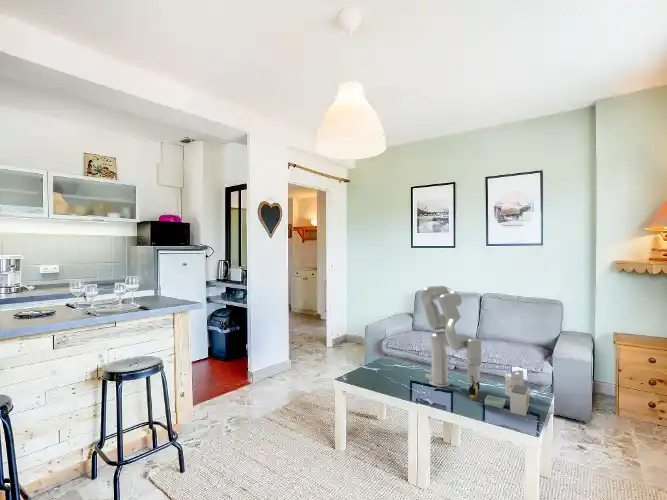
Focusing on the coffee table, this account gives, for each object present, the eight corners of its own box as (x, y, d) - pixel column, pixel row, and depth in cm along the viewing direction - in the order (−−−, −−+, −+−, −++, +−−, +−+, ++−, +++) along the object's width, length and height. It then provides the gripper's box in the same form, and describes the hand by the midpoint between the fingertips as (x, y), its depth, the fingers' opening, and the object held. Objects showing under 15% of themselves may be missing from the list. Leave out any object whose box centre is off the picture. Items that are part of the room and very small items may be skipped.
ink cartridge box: (517, 392, 211) (517, 367, 211) (523, 396, 206) (523, 370, 206) (504, 394, 209) (504, 368, 209) (511, 397, 204) (511, 371, 204)
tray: (484, 404, 195) (484, 400, 195) (487, 398, 203) (487, 395, 203) (502, 408, 190) (502, 404, 190) (505, 402, 198) (505, 398, 198)
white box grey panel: (510, 412, 186) (510, 391, 186) (514, 402, 198) (514, 383, 198) (526, 416, 182) (526, 395, 182) (529, 406, 193) (529, 386, 193)
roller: (468, 399, 202) (469, 384, 202) (470, 396, 206) (470, 382, 205) (476, 400, 200) (476, 386, 200) (478, 398, 203) (478, 384, 203)
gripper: (470, 356, 212) (471, 386, 211) (462, 364, 197) (463, 395, 197) (484, 358, 207) (484, 388, 207) (477, 366, 193) (477, 398, 193)
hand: (474, 392), depth 202 cm, fingers open, 9 cm apart
